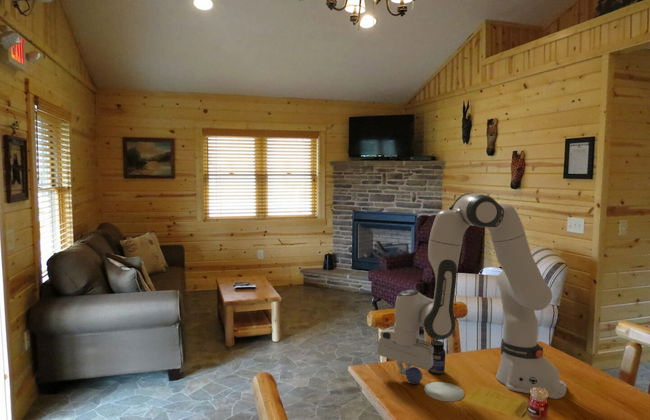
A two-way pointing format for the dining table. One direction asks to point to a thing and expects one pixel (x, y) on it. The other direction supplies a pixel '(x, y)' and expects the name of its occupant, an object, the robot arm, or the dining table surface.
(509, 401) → the dining table surface
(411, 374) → the ball
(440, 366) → the pill bottle
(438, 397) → the disc
